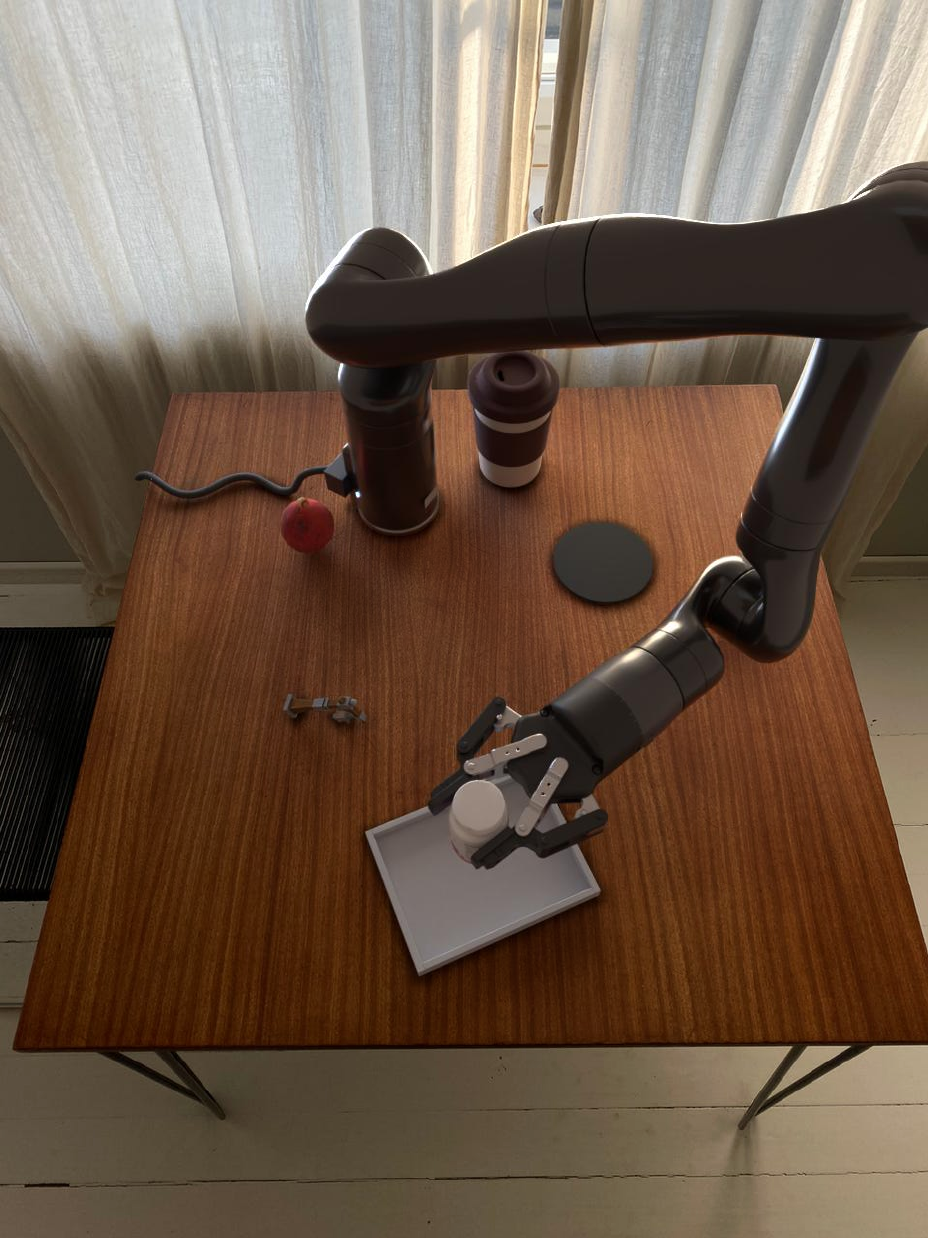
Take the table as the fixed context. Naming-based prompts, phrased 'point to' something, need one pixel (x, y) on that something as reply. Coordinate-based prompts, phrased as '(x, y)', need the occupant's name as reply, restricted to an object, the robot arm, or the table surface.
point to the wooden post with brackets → (326, 707)
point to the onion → (307, 525)
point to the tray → (472, 883)
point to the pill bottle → (476, 817)
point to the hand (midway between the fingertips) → (452, 835)
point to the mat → (603, 562)
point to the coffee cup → (512, 414)
